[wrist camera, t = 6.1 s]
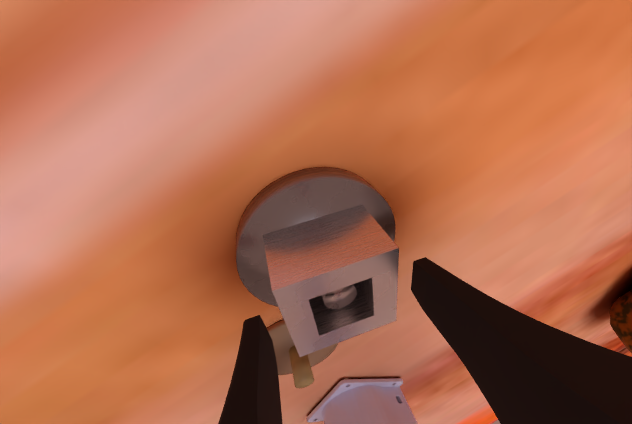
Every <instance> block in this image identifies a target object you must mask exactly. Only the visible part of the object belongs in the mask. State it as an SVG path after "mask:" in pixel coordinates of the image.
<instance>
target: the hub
mask: <svg viewBox="0 0 632 424" xmlns="http://www.w3.org/2000/svg"><path fill="white" fill-rule="evenodd" d="M361 204H362V205H363V206H364V207H365V208H366V210H367V211H368V212H369V213H370V214H371V216H372V217H373V218H374V219H375V220H376V222H377V223H378V224H379V225H380V226H381V227H382V229H383V230H384V231H385V232H386V233H387V235H388V236H389V237H390V238H391V239H392V240H393V242H394V238H395V220H394V216H393V213H392V210H391V208H390V206H389V205H388V203H387V202H386V201H385V199H384V198H383V197H382V196H381V195H380V194H379V193H378V192H377V191H376V190H375V189H374V188H373V187H372V186H371V185H370V184H369V183H368V182H366V181H365V180H364V179H363V178H361V177H359V176H358V175H356V174H354V173H352V172H349V171H346V170H342V169H338V168H330V167H317V168H309V169H303V170H300V171H297V172H293V173H291V174H288V175H286V176H284V177H281V178H280V179H278V180H276V181H274V182H273V183H271V184H270V185H268V186H267V187H266V188H264V189H263V190H262V191H261V192H260V193H259V194H258V195H257V196H256V197H255V198H254V199H253V200H252V201H251V203H250V204H249V205H248V206H247V208H246V210H245V211H244V213H243V215H242V217H241V220H240V222H239V225H238V229H237V233H236V262H237V270H238V273H239V276H240V279H241V280H242V282H243V284H244V286H245V287H246V288H247V289H248V290H249V292H251V293H252V294H253V295H254V296H255V297H257V298H258V299H260V300H261V301H264V302H266V303H268V304H271V305H274V306H277V307H278V304H277V302H276V299H275V297H274V295H273V292H272V288H271V282H270V277H269V271H268V265H267V259H266V253H265V247H264V241H263V234H267V233H270V232H273V231H276V230H280V229H283V228H286V227H289V226H293V225H296V224H299V223H303V222H306V221H309V220H312V219H316V218H319V217H322V216H325V215H329V214H332V213H335V212H338V211H342V210H345V209H348V208H352V207H355V206H358V205H361ZM356 295H357V290H356V288H355V286H354V284H352V285H349V286H346V287H343V288H340V289H338V290H335V291H332V292H329V293H326V294H323V295H321V296H322V299H323V301H324V304H325V306H326V307H328V308H330V309H339V308H342V307H345V306H347V305H348V304H350V303H351V302H352V301H353V300H354V299H355V297H356Z"/></svg>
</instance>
